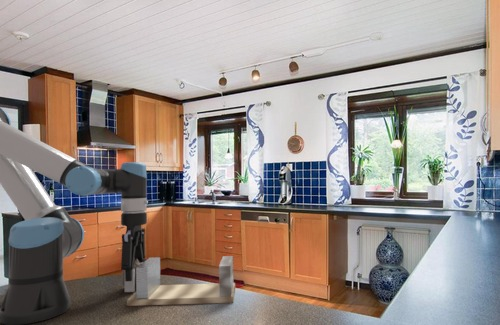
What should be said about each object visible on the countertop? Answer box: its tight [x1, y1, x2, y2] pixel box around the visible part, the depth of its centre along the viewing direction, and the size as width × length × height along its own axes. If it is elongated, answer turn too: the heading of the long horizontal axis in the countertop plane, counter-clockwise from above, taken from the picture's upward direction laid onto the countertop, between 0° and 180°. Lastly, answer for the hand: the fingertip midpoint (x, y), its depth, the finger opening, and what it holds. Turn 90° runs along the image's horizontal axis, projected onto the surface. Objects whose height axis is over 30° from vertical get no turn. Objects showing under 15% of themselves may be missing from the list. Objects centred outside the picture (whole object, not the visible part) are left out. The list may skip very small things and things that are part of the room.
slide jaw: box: [135, 256, 161, 298], centre depth 93 cm, size 3×12×8 cm, turn 0°
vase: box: [121, 258, 141, 291], centre depth 101 cm, size 7×7×9 cm
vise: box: [126, 255, 236, 307], centre depth 93 cm, size 28×12×10 cm, turn 90°
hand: (134, 287), depth 100 cm, fingers closed on vase, 7 cm apart
